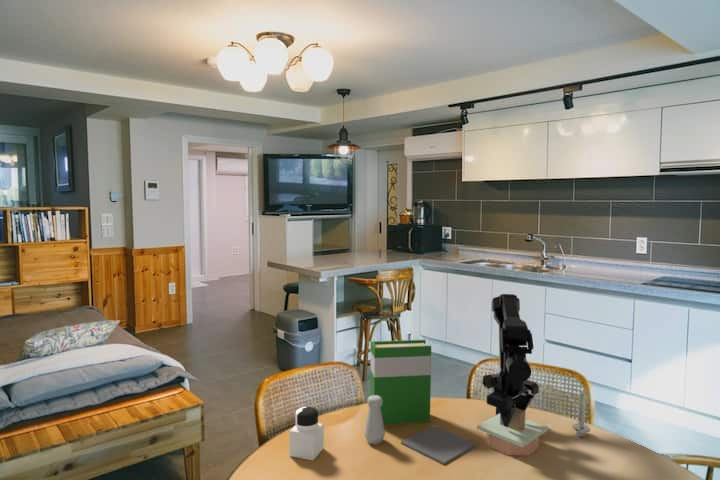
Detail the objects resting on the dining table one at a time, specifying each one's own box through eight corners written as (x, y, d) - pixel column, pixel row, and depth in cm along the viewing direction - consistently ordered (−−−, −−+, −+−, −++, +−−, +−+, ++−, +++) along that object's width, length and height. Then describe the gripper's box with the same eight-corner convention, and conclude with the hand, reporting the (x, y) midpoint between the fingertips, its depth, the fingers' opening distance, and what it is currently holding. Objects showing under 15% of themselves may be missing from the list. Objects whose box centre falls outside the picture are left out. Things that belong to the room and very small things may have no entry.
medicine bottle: (324, 448, 134) (324, 406, 133) (313, 461, 127) (313, 417, 126) (300, 444, 136) (300, 402, 135) (288, 456, 129) (288, 412, 128)
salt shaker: (382, 447, 135) (383, 401, 134) (362, 445, 136) (363, 400, 135) (386, 437, 140) (386, 393, 139) (366, 435, 141) (367, 392, 140)
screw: (593, 436, 142) (581, 439, 140) (580, 429, 146) (568, 432, 144) (595, 393, 141) (582, 396, 139) (582, 387, 145) (569, 390, 143)
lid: (503, 414, 147) (503, 395, 146) (547, 430, 137) (548, 409, 136) (476, 428, 137) (477, 408, 137) (522, 447, 127) (523, 425, 127)
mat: (434, 427, 147) (434, 425, 147) (476, 445, 136) (476, 443, 136) (400, 443, 137) (400, 441, 137) (443, 464, 126) (443, 462, 126)
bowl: (503, 428, 147) (503, 415, 146) (544, 444, 137) (545, 430, 137) (479, 442, 138) (479, 428, 137) (521, 460, 128) (521, 445, 128)
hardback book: (423, 411, 158) (424, 339, 156) (429, 421, 151) (431, 346, 149) (370, 414, 155) (370, 341, 153) (374, 425, 148) (374, 348, 146)
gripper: (505, 355, 148) (504, 404, 149) (470, 369, 135) (469, 423, 136) (540, 364, 140) (538, 416, 141) (506, 380, 127) (504, 437, 128)
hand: (512, 422), depth 137 cm, fingers open, 7 cm apart
